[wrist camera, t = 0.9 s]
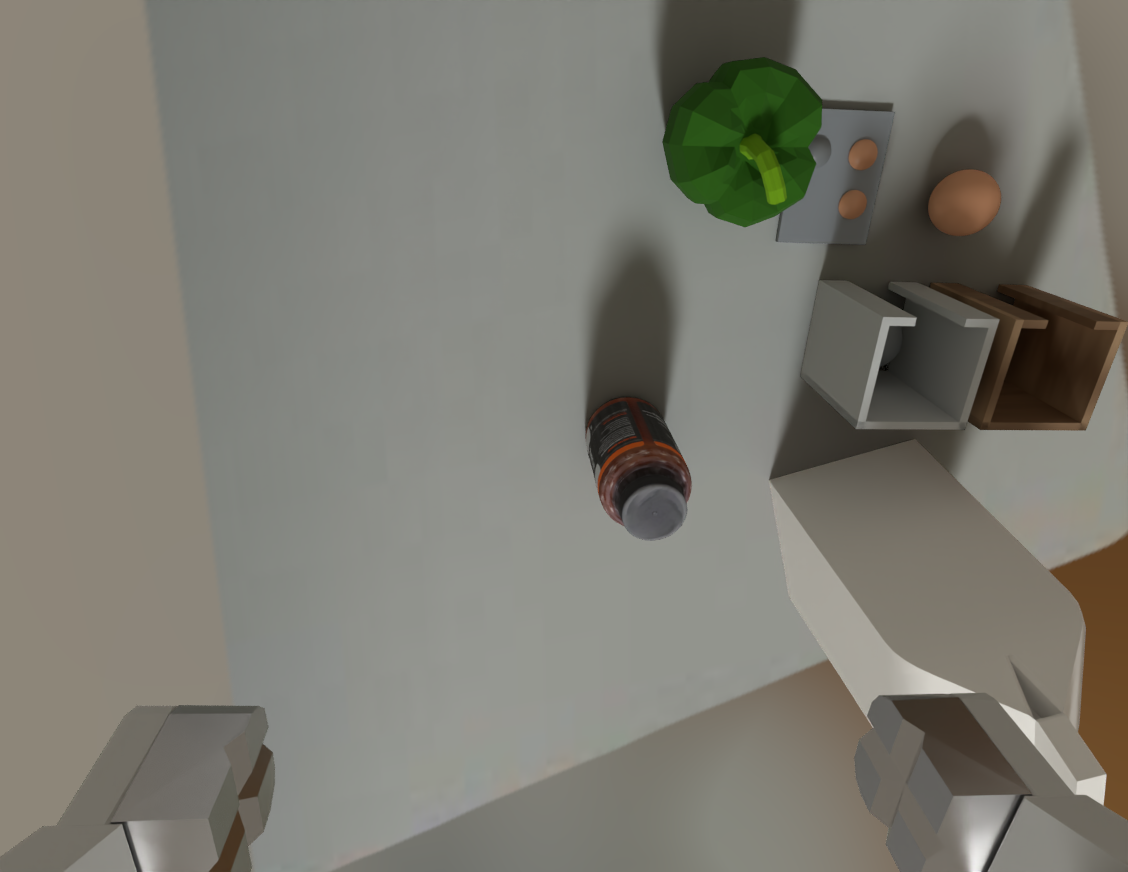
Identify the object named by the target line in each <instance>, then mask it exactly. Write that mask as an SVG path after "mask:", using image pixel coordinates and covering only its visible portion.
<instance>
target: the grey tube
mask: <svg viewBox="0 0 1128 872" xmlns="http://www.w3.org/2000/svg"><path fill="white" fill-rule="evenodd" d="M888 289H889V290H891V291H893V292H895V293H897V294H899V295H901V296H903V297H905V298H906V301H905V305H904V309H903V310H902V309H900V308H898V307H896V306H894V305H892V304H890V303H888V302H887V301H885V300H883V299H881V298H879V297H877V296H875V295H874V294H872V293H870V292H868V291H866V290H864V289H862V288H860V287H859V286H857V285H855V284H853V283H851V282H849V281H844V280H819V284H818V289H817V294H816V299H815V304H814V309H813V314H812V319H811V324H810V329H809V334H808V339H807V344H806V350H805V355H804V360H803V365H802V370H801V375H800V377H801V378H802V379H804V380H805V381H806V382H807V383H808V384H809V385H810V386H811V387H812V388H813V389H814V390H815V391H816V392H817V393H818V394H819V395H820V396H822V397H823V398H824V399H825V400H826V401H827V402H828V403H829V404H830V405H831V406H832V407H833V408H834V409H835V410H836V411H837V412H838V413H840V414H841V415H842V416H843V417H844V418H845V419H846V420H847V421H848V422H849V423H850V424H851V425H852V426H853V427H854V428H855V429H931V430H965V428H966V424H967V421H968V418H969V415H970V412H971V409H972V405H973V402H974V399H975V396H976V393H977V390H978V387H979V383H980V380H981V377H982V374H983V371H984V368H985V364H986V361H987V358H988V355H989V352H990V349H991V345H992V342H993V339H994V336H995V333H996V330H997V326H998V323H999V320H1000V319H998V318H996V317H993V316H991V315H989V314H987V313H984V312H982V311H980V310H978V309H976V308H973V307H971V306H969V305H967V304H964V303H962V302H960V301H958V300H955V299H953V298H951V297H949V296H947V295H944V294H942V293H940V292H938V291H935V290H933V289H931V288H929V287H927V286H924V285H922V284H920V283H918V282H889V286H888ZM889 326H901V329H902V332H903V343H902V346H901V349H900V351H899V353H898V354H897V356H896V357H895V358H894V359H893V360H892V361H890V364H889V368H888V371H878V370H879V366H880V362H881V358H882V354H883V350H884V346H885V342H886V338H887V334H888V330H889Z"/></svg>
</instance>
